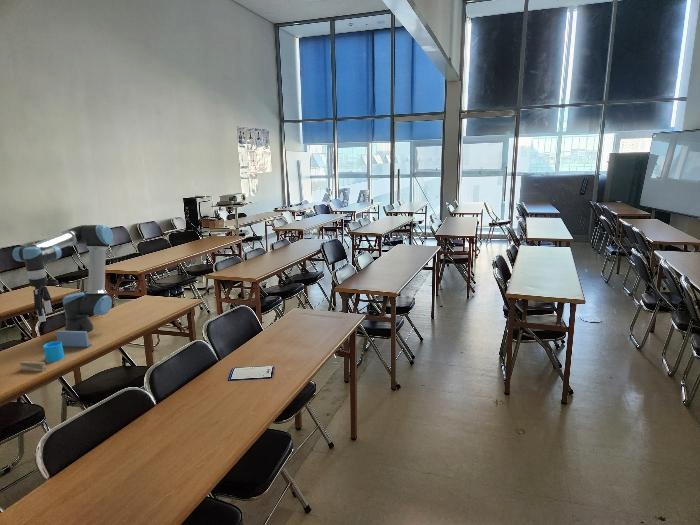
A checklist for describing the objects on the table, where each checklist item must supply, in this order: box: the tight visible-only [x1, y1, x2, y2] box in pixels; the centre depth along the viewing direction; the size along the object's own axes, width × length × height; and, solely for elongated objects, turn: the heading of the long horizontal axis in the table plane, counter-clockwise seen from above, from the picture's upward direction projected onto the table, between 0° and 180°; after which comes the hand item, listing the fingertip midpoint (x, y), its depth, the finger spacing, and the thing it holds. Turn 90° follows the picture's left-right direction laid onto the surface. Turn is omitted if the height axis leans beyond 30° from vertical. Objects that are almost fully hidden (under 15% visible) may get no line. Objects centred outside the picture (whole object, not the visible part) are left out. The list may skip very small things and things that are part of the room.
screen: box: [55, 330, 93, 349], centre depth 250 cm, size 4×18×9 cm, turn 82°
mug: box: [43, 340, 65, 363], centre depth 236 cm, size 12×8×8 cm
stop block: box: [19, 360, 47, 372], centre depth 223 cm, size 2×12×4 cm, turn 82°
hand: (45, 316), depth 231 cm, fingers open, 13 cm apart
